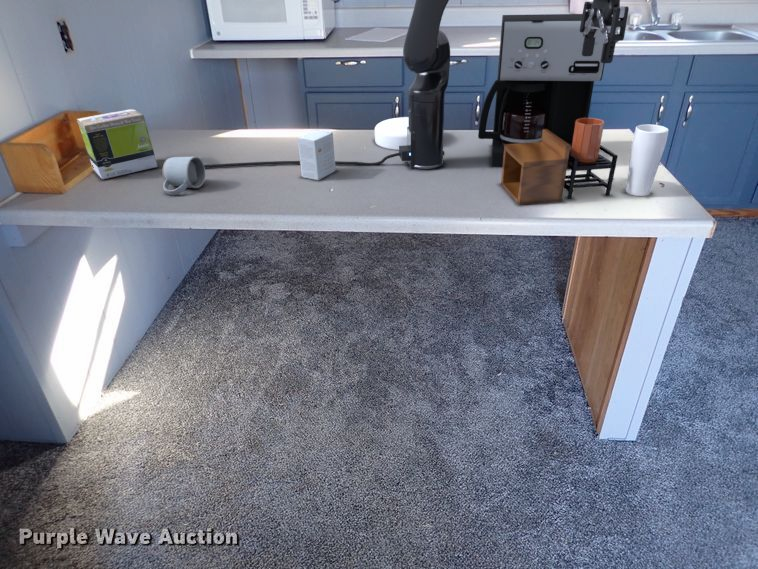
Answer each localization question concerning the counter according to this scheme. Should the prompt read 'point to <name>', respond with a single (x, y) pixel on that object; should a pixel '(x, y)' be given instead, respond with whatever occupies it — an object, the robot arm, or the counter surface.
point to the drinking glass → (645, 158)
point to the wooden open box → (536, 169)
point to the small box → (316, 154)
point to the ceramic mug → (183, 173)
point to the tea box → (117, 143)
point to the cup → (587, 139)
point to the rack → (599, 164)
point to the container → (392, 133)
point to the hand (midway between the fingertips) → (596, 59)
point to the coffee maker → (540, 80)
